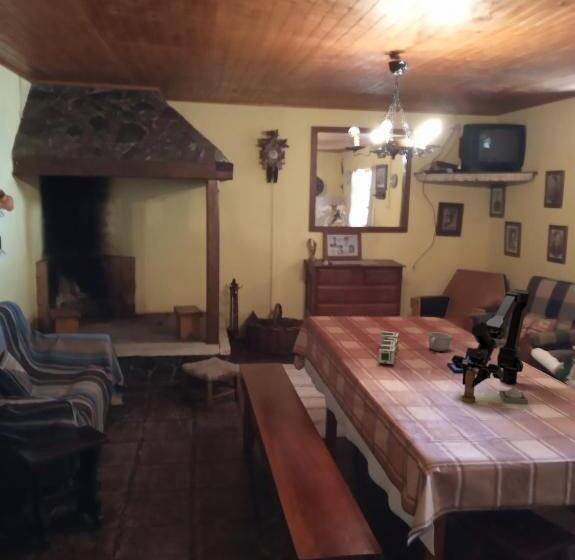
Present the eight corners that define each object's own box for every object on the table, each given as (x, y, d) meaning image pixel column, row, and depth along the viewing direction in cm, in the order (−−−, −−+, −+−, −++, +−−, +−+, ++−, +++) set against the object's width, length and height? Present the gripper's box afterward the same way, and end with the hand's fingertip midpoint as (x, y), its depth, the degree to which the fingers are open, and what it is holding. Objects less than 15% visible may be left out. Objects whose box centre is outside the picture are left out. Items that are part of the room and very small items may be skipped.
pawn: (461, 398, 213) (463, 368, 211) (474, 399, 212) (476, 368, 210) (463, 403, 208) (465, 371, 207) (475, 404, 208) (478, 372, 206)
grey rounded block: (436, 345, 289) (437, 330, 288) (454, 350, 281) (455, 335, 279) (419, 350, 280) (420, 334, 279) (438, 355, 272) (439, 339, 271)
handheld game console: (446, 365, 257) (446, 349, 256) (469, 365, 257) (470, 350, 256) (454, 374, 245) (455, 357, 244) (479, 374, 245) (480, 358, 244)
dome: (503, 395, 216) (504, 385, 216) (519, 396, 215) (520, 386, 215) (506, 400, 210) (507, 390, 210) (523, 401, 209) (524, 391, 209)
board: (458, 393, 221) (458, 387, 220) (522, 398, 217) (523, 391, 216) (462, 406, 207) (463, 400, 207) (531, 412, 203) (532, 405, 203)
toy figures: (381, 345, 289) (382, 331, 288) (398, 346, 287) (399, 332, 285) (374, 365, 255) (375, 349, 254) (393, 366, 253) (394, 350, 252)
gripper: (455, 334, 216) (438, 368, 210) (502, 344, 203) (485, 380, 197) (464, 350, 223) (448, 383, 217) (510, 361, 209) (494, 396, 204)
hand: (467, 385), depth 208 cm, fingers closed on pawn, 3 cm apart
